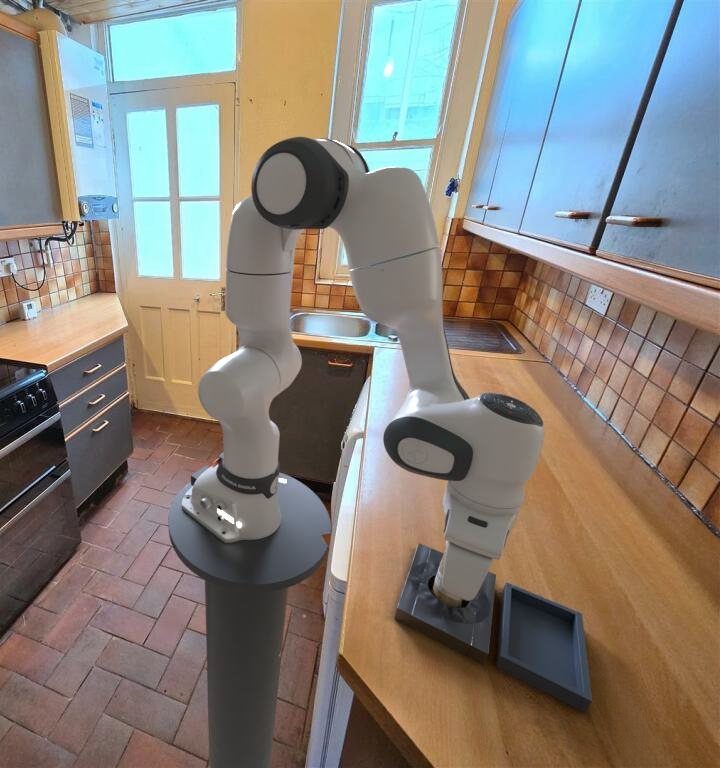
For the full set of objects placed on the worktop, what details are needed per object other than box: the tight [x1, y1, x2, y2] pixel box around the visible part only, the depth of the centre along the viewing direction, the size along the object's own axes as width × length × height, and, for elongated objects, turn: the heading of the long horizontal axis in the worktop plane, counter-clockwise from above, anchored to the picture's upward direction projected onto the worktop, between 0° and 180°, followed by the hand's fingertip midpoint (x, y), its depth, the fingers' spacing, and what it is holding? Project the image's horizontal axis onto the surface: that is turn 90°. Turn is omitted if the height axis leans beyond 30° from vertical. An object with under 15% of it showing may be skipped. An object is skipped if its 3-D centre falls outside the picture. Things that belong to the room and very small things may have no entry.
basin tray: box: [495, 581, 593, 713], centre depth 59 cm, size 10×15×2 cm, turn 144°
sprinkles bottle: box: [430, 540, 463, 608], centre depth 64 cm, size 5×5×13 cm
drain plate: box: [394, 542, 497, 666], centre depth 66 cm, size 12×16×2 cm
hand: (457, 573), depth 63 cm, fingers open, 8 cm apart
